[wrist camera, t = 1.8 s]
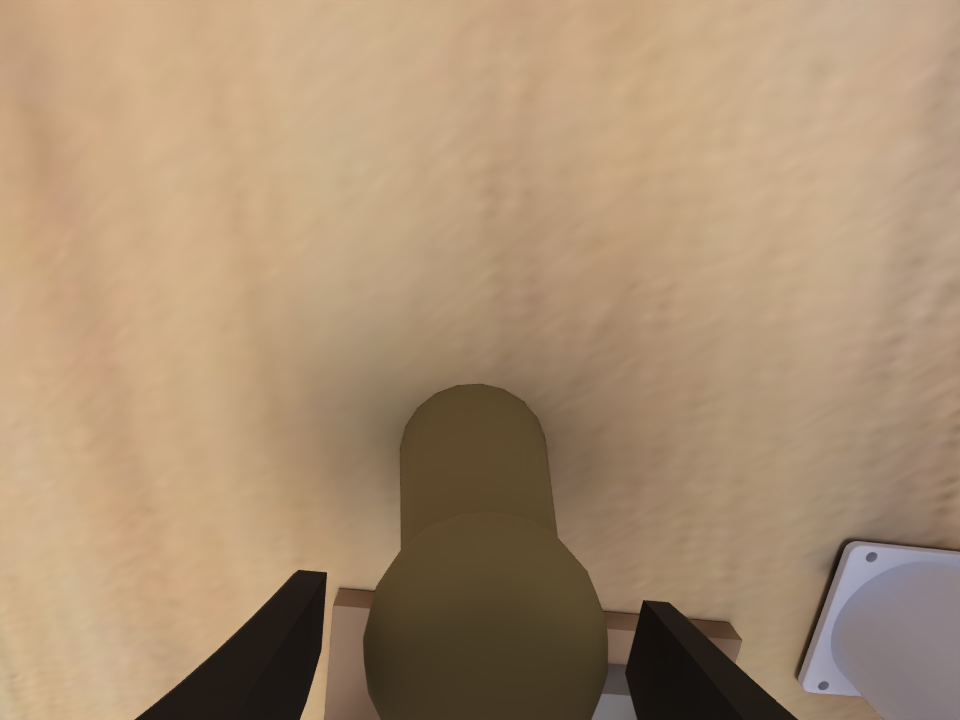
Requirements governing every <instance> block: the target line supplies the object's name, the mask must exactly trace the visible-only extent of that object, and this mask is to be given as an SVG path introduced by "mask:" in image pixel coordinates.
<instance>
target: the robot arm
mask: <svg viewBox="0 0 960 720" xmlns="http://www.w3.org/2000/svg"><path fill="white" fill-rule="evenodd" d="M867 554H868V555H867ZM326 580H327V572H316V571H305V570H298V571H297V572H295V573H294V574H293V575H292V576H291V577H290V578H289V579H288V580H287V581H286V582H285V584H284V585H283V586H282V587H281V588H280V589H279V590H278V591H277V592H276V593H275V594H274V595H273V596H272V597H271V598H270V599H269V600H268V601H267V602H266V603H265V604H264V605H263V606H262V607H261V608H260V609H259V610H258V611H257V612H256V613H255V614H254V616H252V617H251V618H250V619H249V620H248V621H247V622H246V623H245V624H244V625H243V626H242V627H241V628H240V629H239V630H238V631H237V632H236V633H235V634H234V635H233V636H232V637H231V638H230V639H229V640H228V641H226V642H225V643H224V644H223V645H222V646H221V647H220V648H219V649H218V650H217V651H216V652H215V653H213V654H212V655H211V656H210V657H209V658H208V659H207V660H206V661H204V662H203V663H202V664H201V665H200V666H199V667H198V668H196V669H195V670H194V671H193V672H192V673H191V674H190V675H188V676H187V677H186V678H185V679H184V680H183V681H182V682H180V683H179V684H178V685H177V686H176V687H175V688H173V689H172V690H171V691H170V692H169V693H167V694H166V695H165V696H164V697H162V698H161V699H160V700H159V701H158V702H156V703H155V704H154V705H153V706H151V707H150V708H149V709H148V710H146V711H145V712H144V713H142V714H141V715H140V716H139V717H137V718H136V719H135V720H300V717H301V715H302V712H303V710H304V707H305V704H306V702H307V698H308V695H309V691H310V688H311V685H312V681H313V678H314V674H315V671H316V667H317V664H318V660H319V656H320V653H321V648H322V634H323V621H324V607H325V593H326ZM625 675H626V679H627V683H628V687H629V691H630V695H631V699H632V703H633V706H634V710H635V714H636V717H637V720H798V719H797V718H796V717H794V716H793V715H792V714H791V713H790V712H789V711H787V710H786V709H785V708H784V707H783V706H781V705H780V704H779V703H778V702H777V701H776V700H775V699H774V698H772V697H771V696H770V695H769V694H768V693H767V692H766V691H764V690H763V689H762V688H761V687H760V686H759V685H758V684H757V683H756V682H755V681H753V680H752V679H751V678H750V677H749V676H748V675H747V674H746V673H745V672H744V671H742V670H741V669H740V668H739V667H738V666H737V665H736V664H735V663H734V662H733V661H732V660H731V659H730V658H728V657H727V656H726V655H725V654H724V653H723V652H722V651H721V650H720V649H719V648H718V647H717V646H716V645H715V644H714V643H713V642H711V641H710V640H709V639H708V638H707V637H706V636H705V635H704V634H703V633H702V632H701V631H700V630H699V629H698V628H697V627H696V626H694V625H693V624H692V623H691V622H690V621H689V620H688V619H687V618H686V617H685V616H684V615H683V614H681V613H680V612H679V611H678V610H677V609H676V608H675V607H674V606H672V605H671V604H670V603H669V602H658V601H647V600H643V604H642V607H641V611H640V615H639V619H638V623H637V627H636V631H635V635H634V639H633V643H632V647H631V651H630V655H629V658H628V662H627V666H626V670H625ZM798 682H799V684H800V685H801V687H802V688H803V689H804V690H805V691H806V692H810V693H822V694H835V695H848V696H861V697H863V698H864V699H865V700H866V701H867V702H868V703H869V704H870V705H871V706H872V708H873V709H874V710H875V711H876V712H877V713H878V714H879V715H880V716H881V717H882V719H883V720H960V552H958V551H948V550H938V549H929V548H919V547H909V546H900V545H890V544H880V543H870V542H861V541H855V542H851V543H849V544H848V545H847V546H846V547H845V549H844V551H843V554H842V557H841V560H840V562H839V565H838V568H837V571H836V574H835V576H834V579H833V582H832V585H831V588H830V590H829V593H828V596H827V599H826V602H825V604H824V607H823V610H822V613H821V616H820V618H819V621H818V624H817V627H816V630H815V632H814V635H813V638H812V641H811V644H810V646H809V649H808V652H807V655H806V657H805V660H804V663H803V666H802V669H801V671H800V674H799V677H798Z"/></svg>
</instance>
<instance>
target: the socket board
mask: <svg viewBox="0 0 960 720" xmlns="http://www.w3.org/2000/svg"><path fill="white" fill-rule="evenodd" d="M374 593H375V592H373V591H362V590H350V589H339V591H338V594H337V596H336V599H335V602H334V605H333V614H332V627H331V640H330V652H329V665H328V678H327V691H326V703H325V716H324V720H381V719H380V717H379V715H378V713H377V711H376V709H375V707H374V705H373V703H372V701H371V698H370V696H369V694H368V689H367V682H366V674H365V667H364V655H363V636H364V632H365V628H366V624H367V620H368V616H369V612H370V608H371V604H372V601H373V597H374ZM604 615H605V618H606V621H607V633H608V675H607V678H606V682H605V685H604V688H603V691H602V695H601V697H600V700H599V702H598V705H597V707H596V710H595V712H594V715H593V717H592V720H637V717H636V714H635V710H634V706H633V703H632V699H631V695H630V691H629V687H628V683H627V679H626V675H625V670H626V666H627V662H628V658H629V655H630V651H631V647H632V643H633V639H634V635H635V631H636V627H637V623H638V619H639V615H635V614H624V613H612V612H604ZM688 620H689V621H690V622H691V623H692V624H693V625H694V626H696V627H697V628H698V629H699V630H700V631H701V632H702V633H703V634H704V635H705V636H706V637H707V638H708V639H709V640H710V641H711V642H713V643H714V644H715V645H716V646H717V647H718V648H719V649H720V650H721V651H722V652H723V653H724V654H725V655H726V656H727V657H728V658H730V659H731V660H732V661H733V662H734V663H735V662H736V659H737V655H738V652H739V649H740V646H741V643H742V639H741V638H740V636H739V635H738V634H737V632H736V631H735V630H734V628H733V627H732V625H731V624H730V623H727V622H715V621H704V620H692V619H688Z"/></svg>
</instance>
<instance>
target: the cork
mask: <svg viewBox="0 0 960 720" xmlns="http://www.w3.org/2000/svg"><path fill="white" fill-rule="evenodd" d="M400 496H401V551H400V552H399V553H398V555H397V556H396V558H395V559H394V561H393V562H392V564H391V565H390V567H389V568H388V570H387V571H386V573H385V574H384V576H383V577H382V579H381V580H380V582H379V583H378V585H377V586H376V590H375V593H374V597H373V601H372V604H371V608H370V612H369V616H368V620H367V624H366V628H365V632H364V636H363V655H364V667H365V674H366V682H367V689H368V694H369V696H370V698H371V701H372V703H373V705H374V707H375V709H376V711H377V713H378V715H379V717H380V719H381V720H592V717H593V715H594V712H595V710H596V707H597V705H598V702H599V700H600V697H601V695H602V691H603V688H604V685H605V682H606V678H607V675H608V633H607V621H606V618H605V615H604V612H603V610H602V607H601V605H600V602H599V599H598V597H597V594H596V591H595V589H594V587H593V584H592V582H591V579H590V577H589V575H588V572H587V570H586V569H585V568H584V567H583V566H582V565H581V563H580V562H579V561H578V560H577V559H576V558H575V557H574V555H573V554H572V553H571V552H570V551H569V550H568V549H567V548H566V546H565V545H564V544H563V543H562V542H561V541H560V540H559V539H558V536H557V528H556V520H555V512H554V504H553V496H552V488H551V480H550V472H549V464H548V457H547V449H546V441H545V437H544V434H543V431H542V429H541V426H540V423H539V421H538V418H537V417H536V416H535V415H534V413H533V412H532V411H531V410H530V409H529V407H528V406H527V405H526V404H525V403H524V401H522V400H520V399H519V398H517V397H515V396H514V395H512V394H511V393H509V392H507V391H506V390H504V389H500V388H496V387H492V386H488V385H484V384H472V385H457V386H455V387H452V388H449V389H447V390H444V391H442V392H439V393H436V394H435V395H433V396H432V397H431V398H430V399H428V400H427V401H426V402H425V403H423V404H422V405H421V406H420V407H418V408H417V410H416V411H415V413H414V414H413V416H412V418H411V419H410V421H409V422H408V424H407V425H406V427H405V430H404V434H403V439H402V443H401V447H400Z"/></svg>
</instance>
